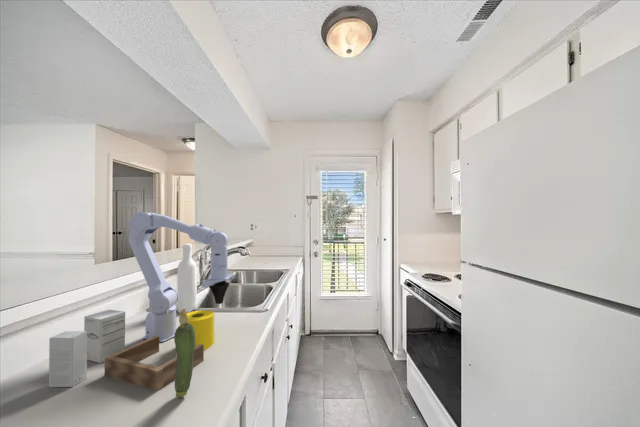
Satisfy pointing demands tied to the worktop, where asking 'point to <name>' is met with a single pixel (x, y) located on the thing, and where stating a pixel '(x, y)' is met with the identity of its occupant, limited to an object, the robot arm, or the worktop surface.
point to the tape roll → (202, 327)
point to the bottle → (187, 281)
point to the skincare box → (67, 358)
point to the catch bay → (145, 365)
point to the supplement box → (104, 334)
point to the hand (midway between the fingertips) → (219, 303)
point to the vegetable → (184, 354)
